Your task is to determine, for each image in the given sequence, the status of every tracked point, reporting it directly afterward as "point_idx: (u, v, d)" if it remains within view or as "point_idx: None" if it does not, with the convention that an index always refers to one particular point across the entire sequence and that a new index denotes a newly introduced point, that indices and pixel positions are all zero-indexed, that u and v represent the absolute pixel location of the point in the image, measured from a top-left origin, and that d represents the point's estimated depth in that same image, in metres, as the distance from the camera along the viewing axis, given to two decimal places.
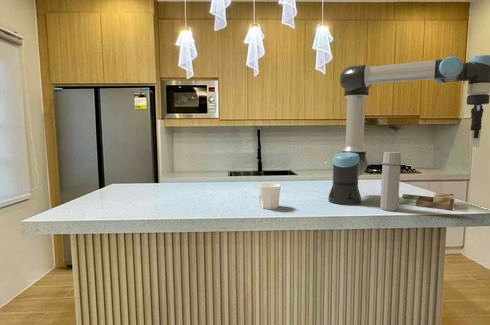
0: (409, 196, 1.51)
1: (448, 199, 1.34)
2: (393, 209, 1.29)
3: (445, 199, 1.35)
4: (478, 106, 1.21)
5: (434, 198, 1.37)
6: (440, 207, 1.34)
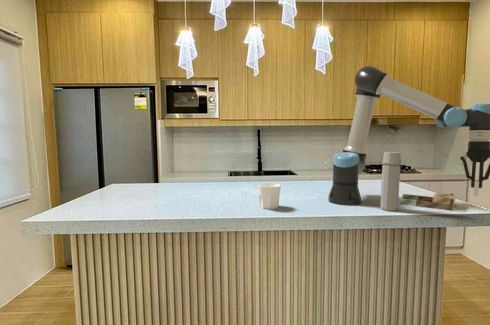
0: (409, 196, 1.51)
1: (447, 199, 1.34)
2: (393, 209, 1.29)
3: (444, 199, 1.35)
4: (460, 158, 1.33)
5: (433, 198, 1.37)
6: (440, 207, 1.34)
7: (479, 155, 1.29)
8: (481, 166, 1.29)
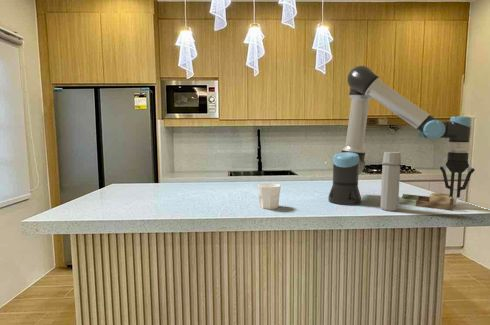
0: (409, 196, 1.51)
1: (444, 198, 1.35)
2: (393, 209, 1.29)
3: (441, 198, 1.35)
4: (440, 168, 1.38)
5: (430, 197, 1.38)
6: (440, 207, 1.34)
7: (457, 166, 1.33)
8: (459, 176, 1.33)
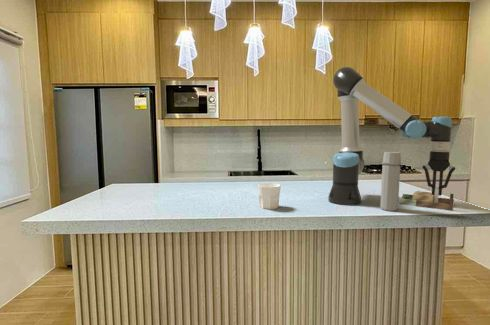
0: (409, 196, 1.51)
1: (426, 197, 1.38)
2: (393, 209, 1.29)
3: (423, 197, 1.39)
4: None
5: (413, 196, 1.42)
6: (440, 207, 1.34)
7: (439, 165, 1.37)
8: (441, 175, 1.37)
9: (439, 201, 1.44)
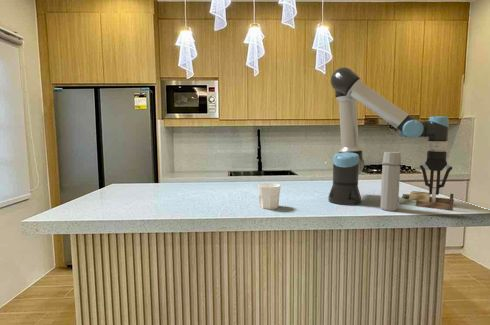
0: None
1: (423, 196, 1.39)
2: (393, 209, 1.29)
3: (420, 196, 1.40)
4: (420, 166, 1.42)
5: (410, 195, 1.42)
6: (440, 207, 1.34)
7: (436, 164, 1.38)
8: (438, 174, 1.38)
9: (439, 201, 1.44)
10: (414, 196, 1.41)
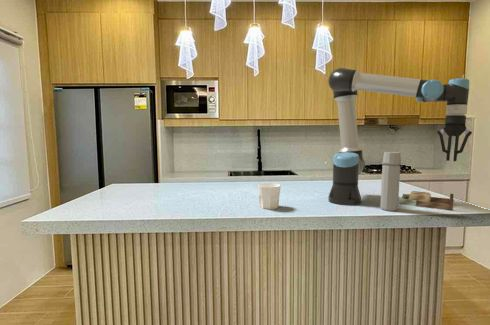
0: None
1: (422, 196, 1.39)
2: (393, 209, 1.29)
3: (420, 196, 1.40)
4: (437, 132, 1.37)
5: (410, 195, 1.42)
6: (440, 207, 1.34)
7: (455, 129, 1.33)
8: (456, 140, 1.33)
9: (439, 201, 1.44)
10: (414, 196, 1.41)
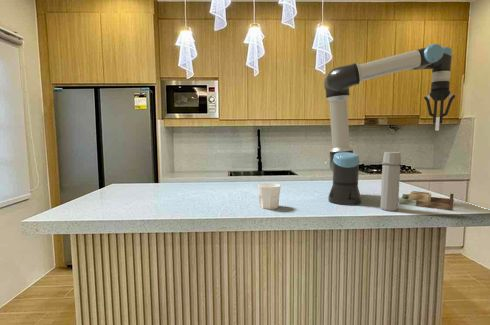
0: None
1: (422, 196, 1.39)
2: (393, 209, 1.29)
3: (419, 196, 1.40)
4: (424, 98, 1.51)
5: (409, 195, 1.42)
6: (440, 207, 1.34)
7: (440, 94, 1.46)
8: (441, 103, 1.46)
9: (439, 201, 1.44)
10: (413, 196, 1.41)
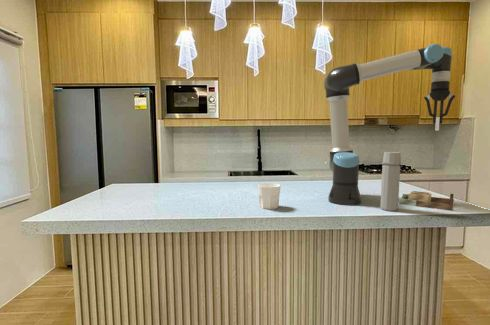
0: None
1: (422, 196, 1.39)
2: (393, 209, 1.29)
3: (419, 196, 1.40)
4: (424, 98, 1.51)
5: (409, 195, 1.42)
6: (440, 207, 1.34)
7: (440, 94, 1.46)
8: (441, 104, 1.46)
9: (439, 201, 1.44)
10: (413, 196, 1.41)
